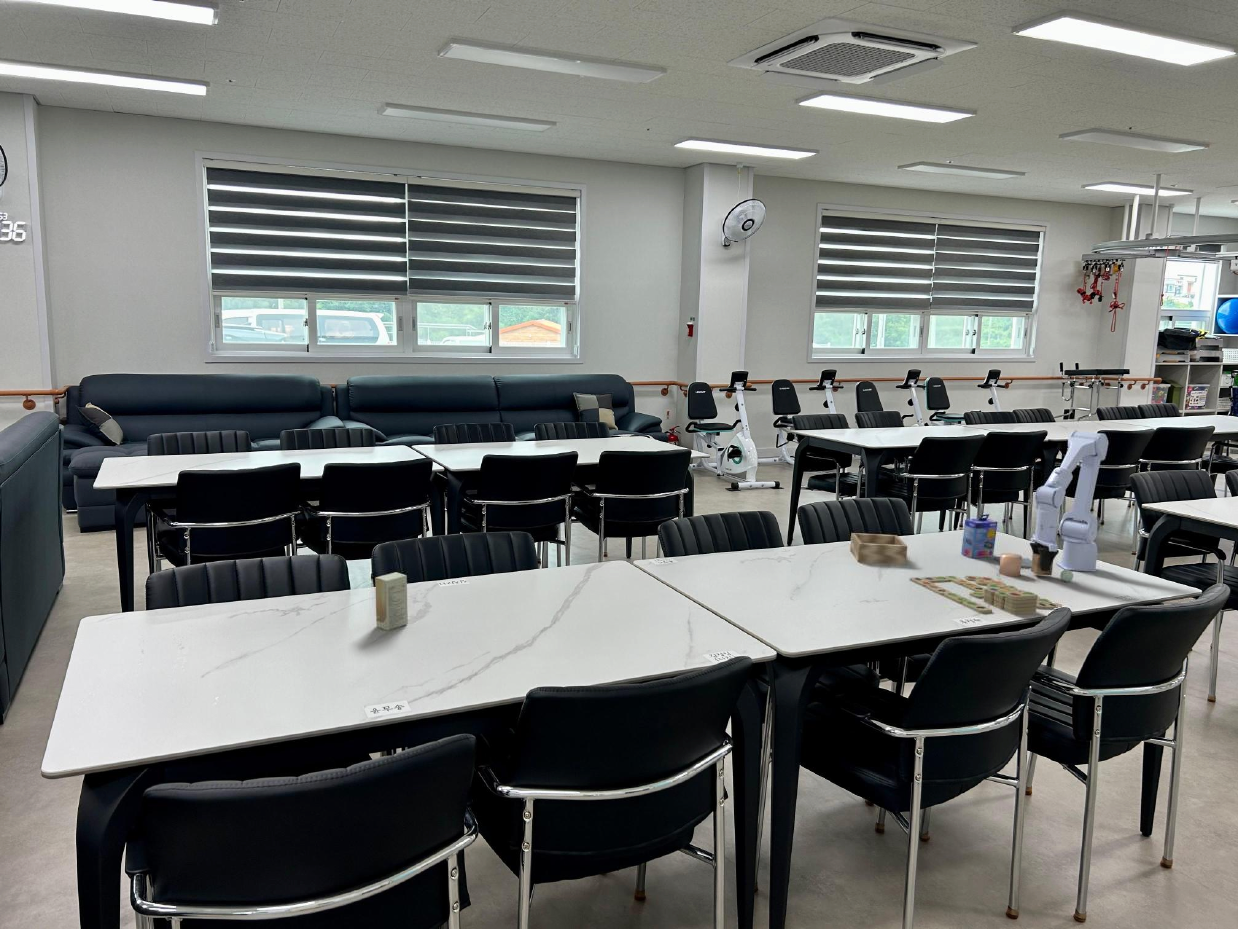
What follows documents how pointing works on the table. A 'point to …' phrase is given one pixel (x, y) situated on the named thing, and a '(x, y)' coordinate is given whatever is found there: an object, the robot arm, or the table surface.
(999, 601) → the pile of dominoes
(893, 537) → the holder corral
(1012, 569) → the peach domed cylinder
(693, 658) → the table surface
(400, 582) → the skincare box
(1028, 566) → the slate pad
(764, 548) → the table surface
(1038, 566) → the walnut block
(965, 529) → the blue box with handle
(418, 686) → the table surface
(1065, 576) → the sage ball
